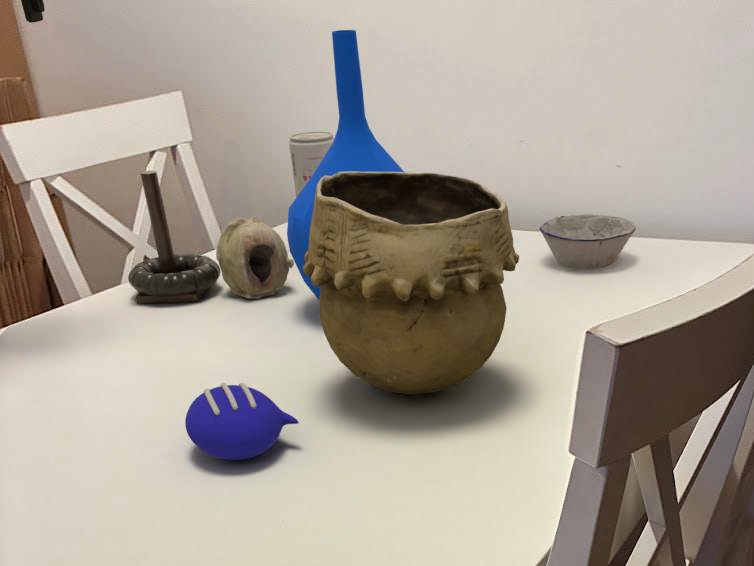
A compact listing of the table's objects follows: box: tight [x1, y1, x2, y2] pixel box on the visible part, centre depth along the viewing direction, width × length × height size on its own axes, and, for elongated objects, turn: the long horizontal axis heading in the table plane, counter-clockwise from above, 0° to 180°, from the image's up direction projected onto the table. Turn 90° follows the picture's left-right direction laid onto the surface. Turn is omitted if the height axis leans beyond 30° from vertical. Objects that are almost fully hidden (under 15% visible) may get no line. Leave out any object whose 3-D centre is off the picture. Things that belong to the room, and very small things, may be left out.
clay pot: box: [303, 171, 520, 395], centre depth 97 cm, size 21×21×20 cm
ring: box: [127, 253, 222, 297], centre depth 131 cm, size 12×12×3 cm
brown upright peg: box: [135, 170, 206, 305], centre depth 128 cm, size 8×8×15 cm
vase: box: [286, 29, 405, 302], centre depth 116 cm, size 18×18×30 cm
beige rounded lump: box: [215, 215, 295, 300], centre depth 129 cm, size 9×8×10 cm
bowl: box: [539, 213, 637, 270], centre depth 136 cm, size 13×13×5 cm
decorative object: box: [184, 381, 299, 461], centre depth 91 cm, size 10×6×10 cm
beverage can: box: [288, 130, 335, 198], centre depth 145 cm, size 7×6×15 cm
